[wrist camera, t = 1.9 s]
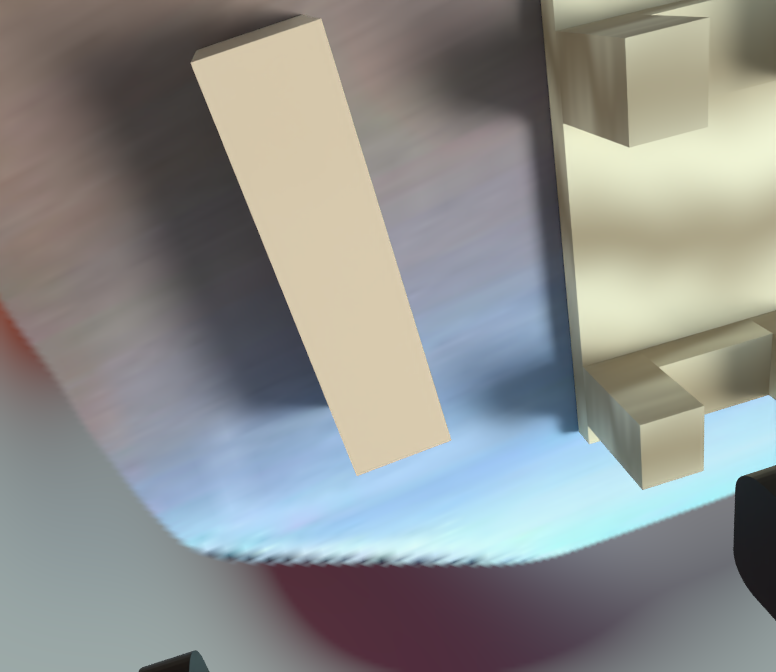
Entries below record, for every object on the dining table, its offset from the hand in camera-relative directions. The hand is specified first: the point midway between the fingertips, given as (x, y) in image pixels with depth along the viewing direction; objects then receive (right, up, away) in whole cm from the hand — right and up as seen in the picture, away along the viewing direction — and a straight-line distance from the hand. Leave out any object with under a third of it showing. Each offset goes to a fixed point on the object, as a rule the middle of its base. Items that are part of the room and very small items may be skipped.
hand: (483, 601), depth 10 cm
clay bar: (-4, +8, +15) cm, 18 cm away
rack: (+10, +9, +18) cm, 22 cm away
